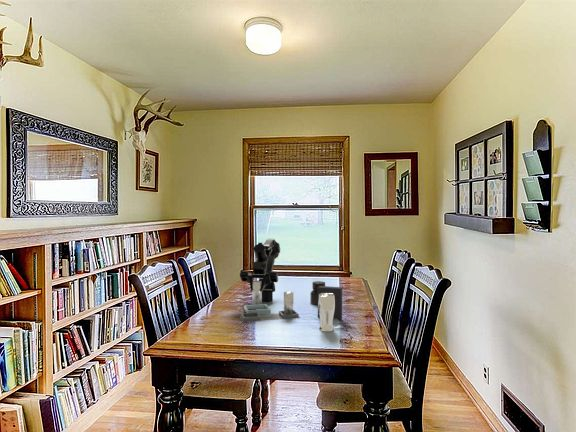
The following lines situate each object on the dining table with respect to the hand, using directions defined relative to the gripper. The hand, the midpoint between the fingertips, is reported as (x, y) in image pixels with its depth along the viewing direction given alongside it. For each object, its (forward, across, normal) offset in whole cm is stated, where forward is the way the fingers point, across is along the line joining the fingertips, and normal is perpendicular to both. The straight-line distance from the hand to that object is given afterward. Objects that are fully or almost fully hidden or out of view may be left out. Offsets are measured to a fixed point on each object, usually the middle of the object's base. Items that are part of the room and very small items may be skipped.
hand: (256, 290), depth 199 cm
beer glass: (+23, +35, -6) cm, 42 cm away
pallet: (+14, +8, +2) cm, 16 cm away
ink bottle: (-8, +29, +25) cm, 39 cm away
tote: (+7, 0, +9) cm, 11 cm away
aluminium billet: (+4, 0, +6) cm, 7 cm away
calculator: (+11, +36, +5) cm, 38 cm away
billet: (+10, +17, +4) cm, 20 cm away
